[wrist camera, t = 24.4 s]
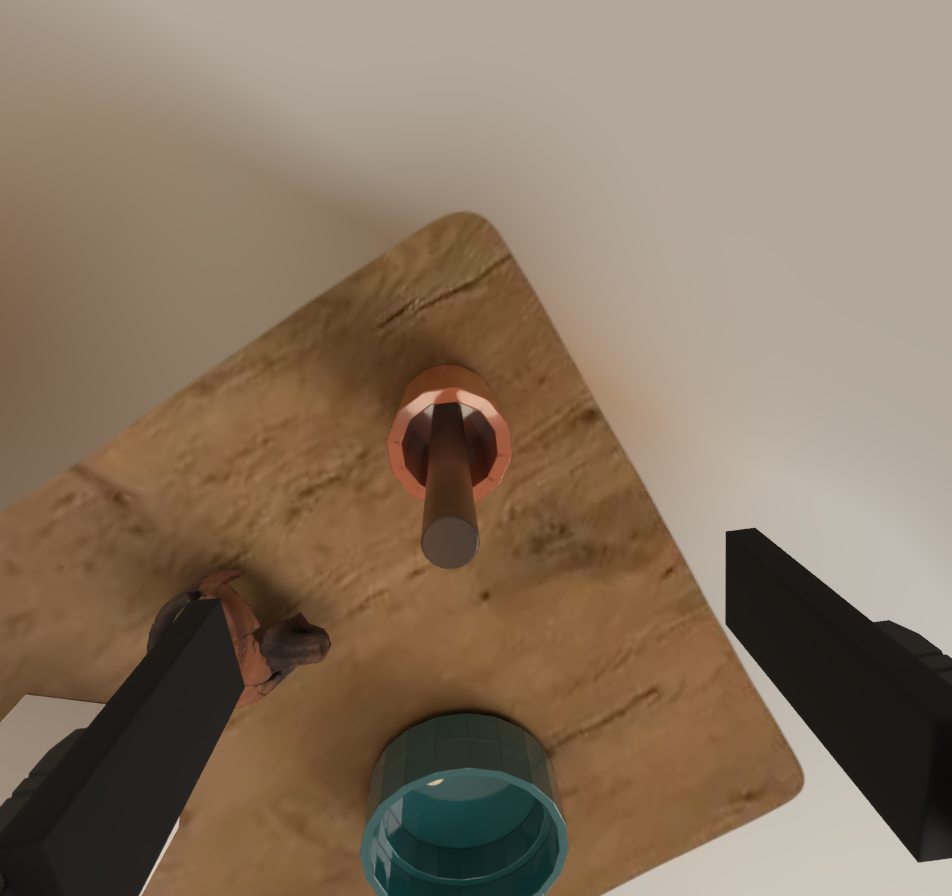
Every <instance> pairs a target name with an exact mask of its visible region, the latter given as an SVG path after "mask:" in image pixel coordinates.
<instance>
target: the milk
mask: <svg viewBox="0 0 952 896" xmlns="http://www.w3.org/2000/svg"><path fill="white" fill-rule="evenodd" d="M105 705H106V704H100V703H92V702H84V701H76V700H67V699H59V698H51V697H43V696H35V695H27V694H25V696H24V697H23V698H22V699H21V700H20V701H19V702H18V703H17V704H16V706H15V707H14V708H13V709H12V710H11V711H10V712H9V713H8V714H7V716H6V717H5V718H4V719H3V720H2V721H1V722H0V806H1V805H2V804H3V803H4V802H5V800H6V799H7V798H11V796H12V792H13V791H14V790H15V789H16V788H17V786H18V785H19V784H20V783H21V782H22V781H23V780H24V778H28V776H29V773H30V771H31V770H32V769H33V768H34V767H35V766H36V764H37V763H38V762H39V761H40V760H41V759H42V757H43V756H44V755H45V754H46V753H47V752H48V750H50V749H51V748H52V747H54V746H55V745H56V744H57V743H59V742H60V741H61V740H63V739H64V738H65V737H66V736H68V735H69V734H70V733H71V732H73V731H74V730H75V729H80V728H87V727H88V726H89V725H90V723H91V722H92V721H93V720H94V718H95V717H96V716H97V715H98V714H99V712H100V711H101V710H102V709H103V707H104V706H105ZM179 818H180V816H179ZM179 818H178V820H177V822H176V824H175V826H174V828H173V830H172V832H171V834H170V836H169V838H168V840H167V842H166V844H165V846H164V848H163V850H162V852H161V854H160V856H159V858H158V860H157V862H156V864H155V866H154V868H153V869H152V871H151V873H150V875H149V877H148V879H147V881H146V883H145V885H144V887H143V889H142V891H141V893H140V895H139V896H141V895H142V893H143V892H144V890H145V888H146V886H147V884H148V882H149V881H150V879H151V877H152V875H153V873H154V871H155V870H156V868H157V866H158V864H159V862H160V860H161V859H162V857H163V855H164V853H165V851H166V849H167V848H168V846H169V844H170V842H171V840H172V838H173V837H174V835H175V833H176V831H177V829H178V827H179Z"/></svg>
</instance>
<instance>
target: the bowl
mask: <svg viewBox="0 0 952 896" xmlns="http://www.w3.org/2000/svg"><path fill="white" fill-rule="evenodd" d="M440 779H444V780H443V781H442V782H441V783H439V784H437V785H433V786H431V785H427V784H429V783H431V782H433V781H436V780H440ZM568 849H569V847H568V837H567V826H566V821H565V817H564V812H563V808H562V803H561V799H560V795H559V790H558V786H557V781H556V777H555V772H554V768H553V765H552V763H551V761H550V759H549V758H548V756H547V754H546V752H545V750H544V748H543V746H542V745H541V744H540V743H539V742H537V741H536V740H535V739H534V738H533V737H532V736H531V735H530V734H528V733H527V732H526V731H525V730H524V729H523V728H521V727H519V726H516V725H514V724H512V723H509V722H507V721H505V720H502V719H500V718H498V717H494V716H486V715H478V714H471V713H467V714H466V713H462V714H455V715H448V716H440V717H435V718H432V719H430V720H428V721H425V722H423V723H421V724H418V725H416V726H414V727H411V728H409V729H408V730H406V731H405V732H404V733H403V734H402V735H400V736H399V737H398V738H397V739H395V740H394V741H393V742H392V743H391V744H389V745H388V746H387V747H386V749H385V750H384V752H383V754H382V755H381V757H380V758H379V760H378V762H377V763H376V765H375V766H374V768H373V773H372V778H371V783H370V789H369V795H368V802H367V808H366V815H365V822H364V828H363V835H362V842H361V848H360V856H361V861H362V865H363V869H364V874H365V878H366V880H367V881H368V882H369V884H370V885H371V887H372V888H373V889H374V891H375V892H376V894H377V895H378V896H544V895H545V894H546V893H547V891H548V890H549V889H550V888H551V886H552V885H553V884H554V882H555V881H556V880H557V878H558V877H559V876H560V874H561V872H562V869H563V866H564V863H565V859H566V856H567V853H568Z"/></svg>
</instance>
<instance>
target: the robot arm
mask: <svg viewBox="0 0 952 896" xmlns="http://www.w3.org/2000/svg"><path fill="white" fill-rule="evenodd" d="M726 625H727V626H728V628H729V629H730V630H731V631H732V633H733V634H734V635H735V636H736V638H737V639H738V640H739V641H740V642H741V644H742V645H743V646H744V648H745V649H746V650H747V651H748V652H749V654H750V655H751V656H752V657H753V659H754V660H755V661H756V662H757V663H758V665H759V666H760V667H761V668H762V670H763V671H764V672H765V673H766V675H767V676H768V677H769V678H770V679H771V681H772V682H773V683H774V684H775V686H776V687H777V688H778V690H779V691H780V692H781V693H782V695H783V696H784V697H785V698H786V699H787V701H788V702H789V703H790V704H791V706H792V707H793V708H794V709H795V711H796V712H797V713H798V714H799V716H800V717H801V718H802V719H803V721H804V722H805V723H806V724H807V725H808V727H809V728H810V729H811V730H812V732H813V733H814V734H815V735H816V736H817V738H818V739H819V740H820V741H821V743H822V744H823V745H824V747H825V748H826V749H827V750H828V751H829V752H830V754H831V755H832V756H833V758H834V759H835V760H836V761H837V763H838V764H839V765H840V766H841V767H842V768H843V770H844V771H845V772H846V773H847V775H848V776H849V777H850V779H851V780H852V781H853V782H854V784H855V785H856V786H857V787H858V789H859V790H860V791H861V792H862V794H863V795H864V796H865V797H866V798H867V800H868V801H869V802H870V803H871V805H872V806H873V807H874V808H875V810H876V811H877V812H878V813H879V815H880V816H881V817H882V818H883V820H884V821H885V822H886V823H887V824H888V826H889V827H890V828H891V829H892V831H893V832H894V833H895V834H896V835H897V837H898V838H899V839H900V841H901V842H902V843H903V844H904V846H905V847H906V848H907V849H908V850H909V852H910V853H911V854H912V855H913V857H914V858H915V859H916V860H917V862H926V861H933V860H941V859H948V858H952V658H950V657H949V656H948V655H943V653H942V651H941V650H940V649H938V648H937V647H936V646H934V645H933V644H932V643H930V642H929V641H928V640H926V639H925V638H924V637H922V636H921V635H920V634H918V633H916V632H914V631H912V630H909V629H907V628H905V627H903V626H901V625H898V624H896V623H894V622H892V621H890V620H887V621H880V622H872V621H871V620H869V619H868V618H867V617H866V616H864V615H863V614H862V613H861V612H860V611H858V610H857V609H856V608H855V607H853V606H852V605H851V604H850V603H848V602H847V601H846V600H845V599H843V598H842V597H840V595H838V594H837V593H836V592H835V591H833V590H832V589H831V588H829V587H828V586H827V585H826V584H824V583H823V582H822V581H821V580H820V579H818V578H817V577H816V576H815V575H813V574H812V573H811V572H810V571H808V570H807V569H806V568H805V567H803V566H802V565H801V564H800V563H798V562H797V561H796V560H795V559H793V558H792V557H791V556H790V555H788V554H787V553H786V552H785V551H783V550H782V549H781V548H780V547H778V546H777V545H776V544H775V543H773V542H772V541H771V540H770V539H768V538H767V537H766V536H765V535H763V534H762V533H761V532H760V531H758V530H757V529H756V528H751V529H742V530H735V531H727V532H726ZM244 689H245V684H244V681H243V677H242V674H241V670H240V666H239V663H238V659H237V656H236V652H235V649H234V645H233V642H232V638H231V634H230V631H229V627H228V624H227V620H226V617H225V613H224V609H223V606H222V602H221V599H220V598H212V599H204V600H197V601H190V602H189V604H188V605H187V606H186V607H185V609H184V610H183V611H182V612H181V613H180V615H179V616H178V617H177V618H176V620H175V621H174V622H173V623H172V624H171V626H170V627H169V628H168V629H167V631H166V632H165V633H164V634H163V635H162V637H161V638H160V639H159V640H158V642H157V643H156V644H155V645H154V646H153V648H152V649H151V650H150V651H149V653H148V654H147V655H146V656H145V657H144V659H143V660H142V661H141V662H140V663H139V665H138V666H137V667H136V668H135V670H134V671H133V672H132V673H131V674H130V676H129V677H128V678H127V679H126V681H125V682H124V683H123V684H122V685H121V687H120V688H119V689H118V690H117V692H116V693H115V694H114V695H113V696H112V698H111V699H110V700H109V701H108V703H107V704H106V705H105V706H104V707H103V709H102V710H101V711H100V712H99V714H98V715H97V716H96V717H95V718H94V720H93V721H92V722H91V723H90V725H89V726H88V727H87V728H80V729H75V730H74V731H73V732H71V733H70V734H69V735H68V736H66V737H65V738H64V739H63V740H61V741H60V742H59V743H57V744H56V745H55V746H54V747H52V748H51V749H50V750H48V752H47V753H46V754H45V755H44V756H43V757H42V759H41V760H40V761H39V762H38V763H37V764H36V766H35V767H34V768H33V769H32V770H31V771H30V773H29V776H28V778H24V780H23V781H22V782H21V783H20V784H19V785H18V786H17V788H16V789H15V790H14V791H13V792H12V796H11V798H7V799H6V800H5V802H4V803H3V804H2V805H1V806H0V896H139V895H140V893H141V891H142V889H143V887H144V885H145V883H146V881H147V879H148V877H149V875H150V873H151V871H152V869H153V868H154V866H155V864H156V862H157V860H158V858H159V856H160V854H161V852H162V850H163V848H164V846H165V844H166V842H167V840H168V838H169V836H170V834H171V832H172V830H173V828H174V826H175V824H176V822H177V820H178V818H179V816H180V814H181V812H182V811H183V809H184V807H185V805H186V803H187V801H188V799H189V797H190V795H191V793H192V791H193V789H194V787H195V785H196V783H197V781H198V779H199V777H200V775H201V773H202V771H203V769H204V767H205V765H206V763H207V761H208V759H209V757H210V756H211V754H212V752H213V750H214V748H215V746H216V744H217V742H218V740H219V738H220V736H221V734H222V732H223V730H224V728H225V726H226V724H227V722H228V720H229V718H230V716H231V714H232V712H233V710H234V708H235V706H236V704H237V702H238V700H239V699H240V697H241V695H242V693H243V691H244Z"/></svg>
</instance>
